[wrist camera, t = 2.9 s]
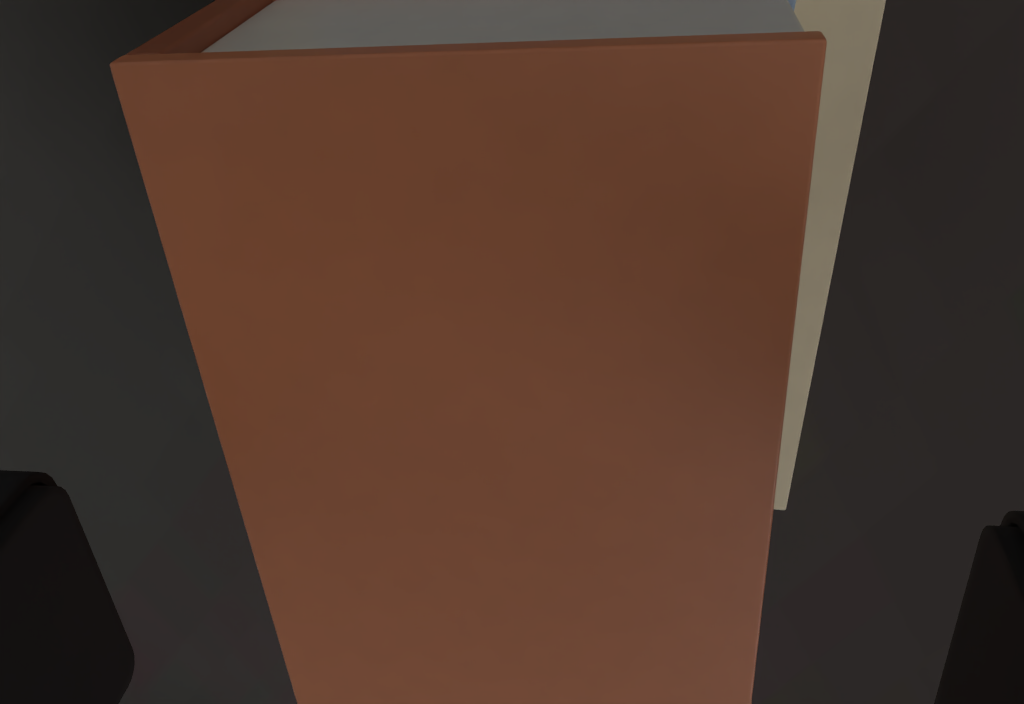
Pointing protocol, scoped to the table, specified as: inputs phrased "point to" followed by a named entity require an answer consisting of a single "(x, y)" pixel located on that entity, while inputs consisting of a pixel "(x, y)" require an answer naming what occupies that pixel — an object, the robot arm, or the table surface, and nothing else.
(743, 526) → the terracotta book
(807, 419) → the table surface
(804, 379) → the cream hardcover
